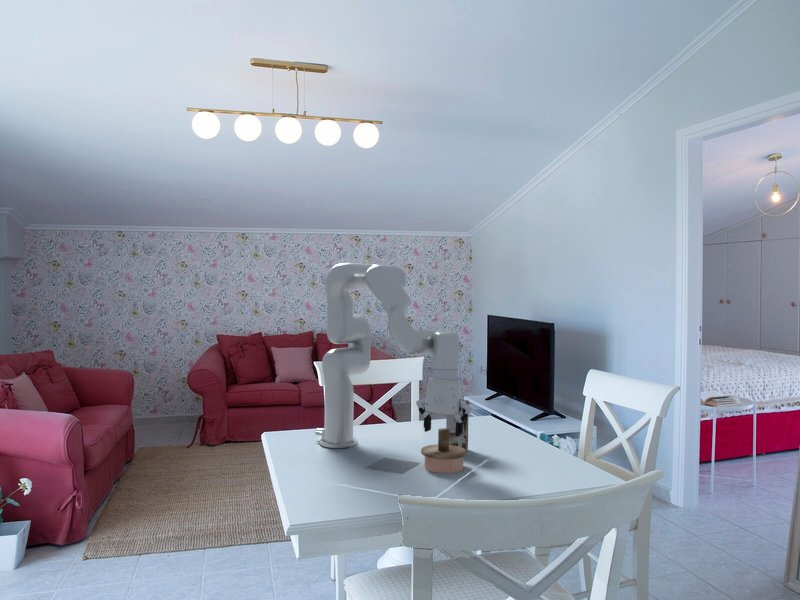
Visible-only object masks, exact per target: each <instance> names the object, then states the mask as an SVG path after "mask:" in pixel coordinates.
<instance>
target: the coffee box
mask: <svg viewBox="0 0 800 600" xmlns="http://www.w3.org/2000/svg"><path fill="white" fill-rule="evenodd" d="M462 401H463V402H465V403H466V404H468V405H469V404H470V403H469V400H466V399H462ZM469 406H470V405H469ZM465 412H466V410H465V409H464V408H463V407H462V411H461V413H462V415H464V414H465ZM445 422H446V423H445V425H446V426H445V428H446V429H449V445H454V446H459V447H462V448H464V449H465V450H466V454H467V453H468V450H469V417H468V418H467V419H466V420H465V421H463V433H462V434H461V435H460V436H458V437H457V436H455V430H456V423H457V420H456V418H455V417H454V416H448V415H446V420H445Z"/></svg>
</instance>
